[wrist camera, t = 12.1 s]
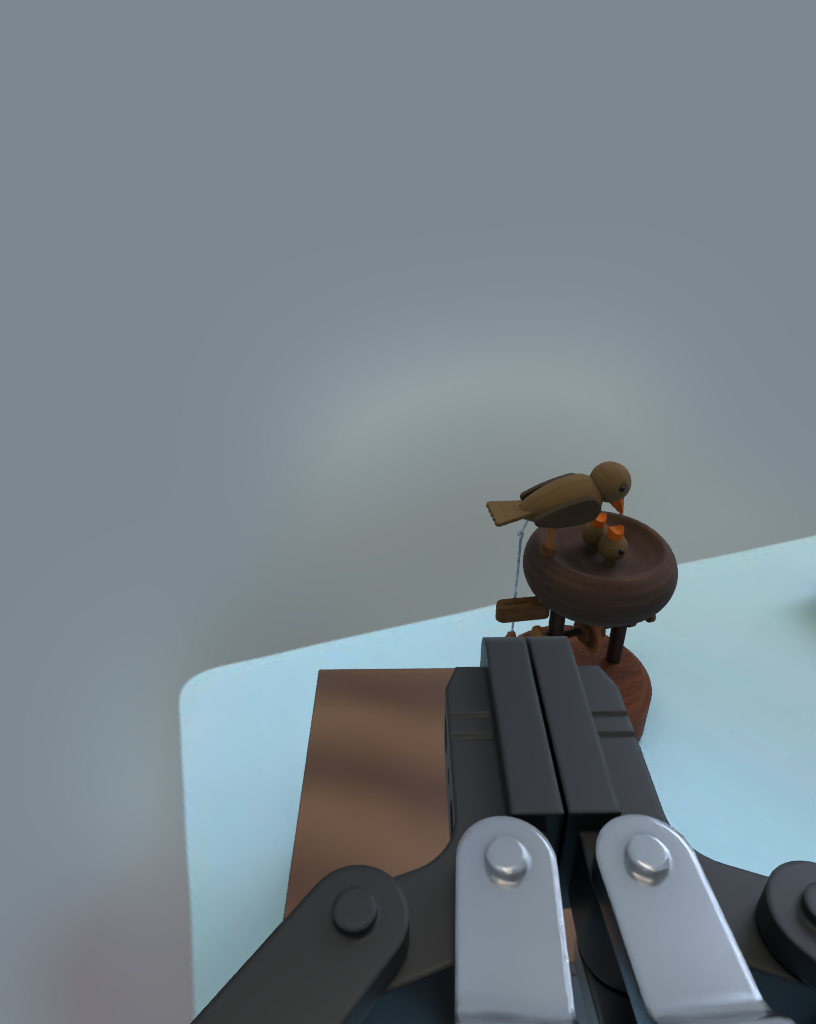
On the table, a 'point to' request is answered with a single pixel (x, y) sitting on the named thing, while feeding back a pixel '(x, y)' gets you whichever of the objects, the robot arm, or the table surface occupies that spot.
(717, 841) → the table surface
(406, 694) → the lid
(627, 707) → the music box
